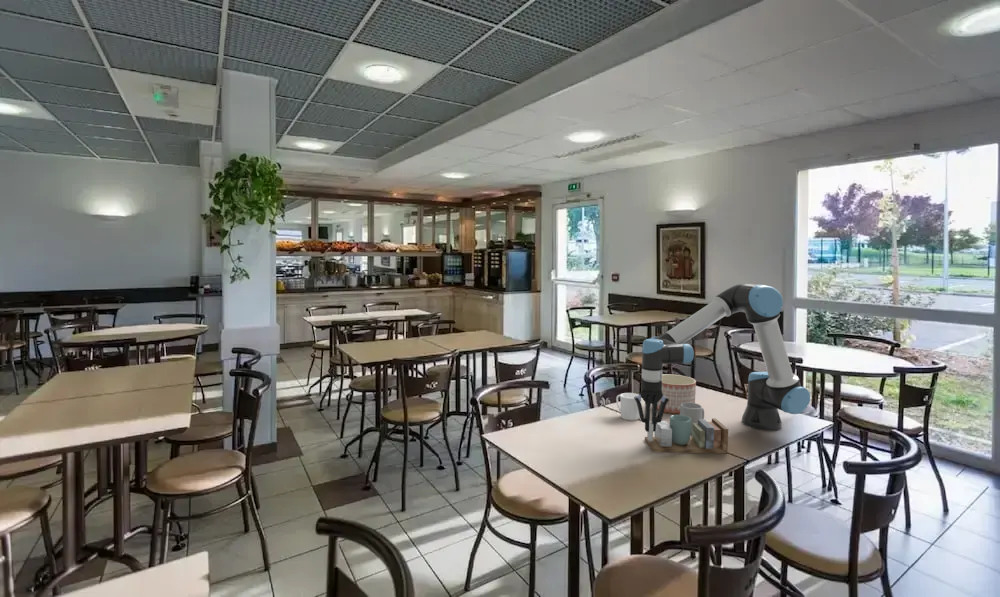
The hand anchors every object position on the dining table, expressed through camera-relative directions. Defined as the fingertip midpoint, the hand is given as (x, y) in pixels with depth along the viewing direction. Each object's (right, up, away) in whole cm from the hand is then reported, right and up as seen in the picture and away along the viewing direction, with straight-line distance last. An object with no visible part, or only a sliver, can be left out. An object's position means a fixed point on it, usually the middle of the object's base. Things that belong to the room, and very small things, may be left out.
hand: (650, 439), depth 189 cm
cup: (+11, -2, 0) cm, 11 cm away
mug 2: (+23, -1, +17) cm, 29 cm away
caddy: (+13, -3, 0) cm, 14 cm away
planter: (+24, +1, +44) cm, 50 cm away
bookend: (+5, -1, 0) cm, 5 cm away
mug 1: (0, 0, +33) cm, 33 cm away
